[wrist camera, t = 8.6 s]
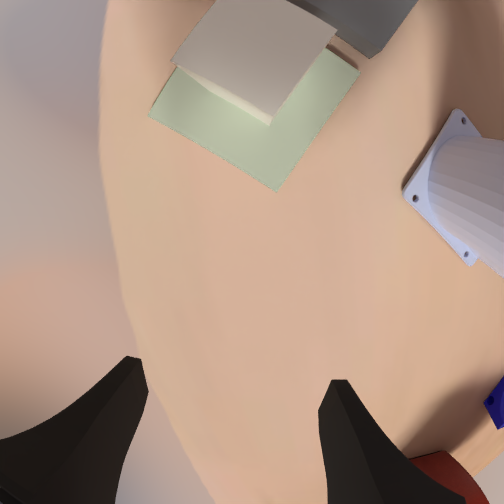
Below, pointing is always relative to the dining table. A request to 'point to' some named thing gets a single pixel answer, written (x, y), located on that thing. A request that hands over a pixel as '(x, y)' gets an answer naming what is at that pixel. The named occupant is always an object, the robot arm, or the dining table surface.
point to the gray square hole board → (361, 20)
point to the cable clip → (496, 405)
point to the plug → (253, 52)
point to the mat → (249, 127)
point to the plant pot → (451, 476)
